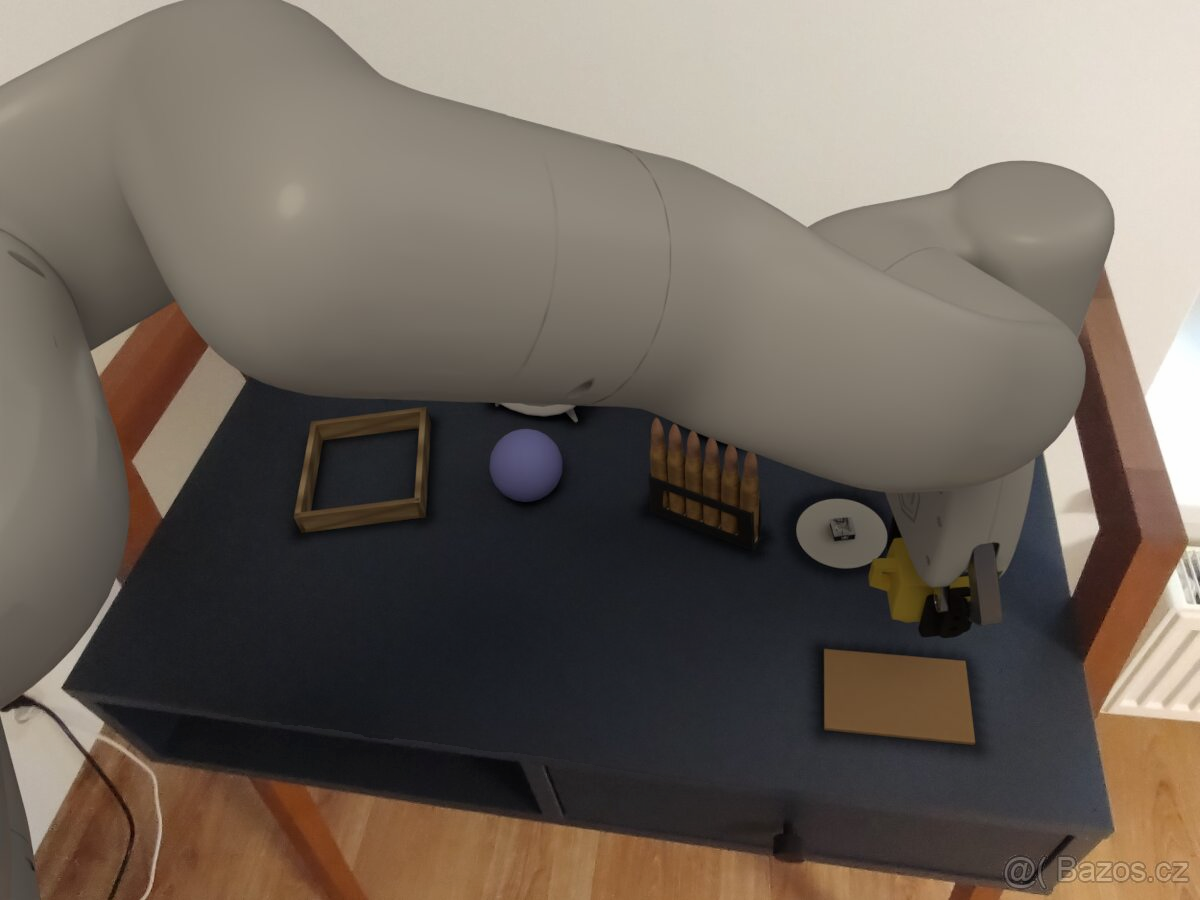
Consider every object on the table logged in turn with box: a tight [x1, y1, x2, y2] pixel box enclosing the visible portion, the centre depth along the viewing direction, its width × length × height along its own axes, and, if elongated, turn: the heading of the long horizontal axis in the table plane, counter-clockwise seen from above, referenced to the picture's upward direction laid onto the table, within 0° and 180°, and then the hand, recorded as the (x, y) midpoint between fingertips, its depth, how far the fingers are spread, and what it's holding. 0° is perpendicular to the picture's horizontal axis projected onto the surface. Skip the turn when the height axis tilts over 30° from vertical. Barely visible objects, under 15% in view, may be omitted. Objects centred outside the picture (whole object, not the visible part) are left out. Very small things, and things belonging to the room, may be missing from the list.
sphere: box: [489, 428, 563, 503], centre depth 89 cm, size 7×7×7 cm
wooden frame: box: [293, 406, 432, 534], centre depth 94 cm, size 13×12×2 cm
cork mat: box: [823, 648, 976, 746], centre depth 73 cm, size 7×11×1 cm, turn 81°
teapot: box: [868, 538, 970, 624], centre depth 62 cm, size 8×6×5 cm
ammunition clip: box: [648, 417, 763, 552], centre depth 83 cm, size 11×2×12 cm, turn 60°
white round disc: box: [795, 498, 888, 569], centre depth 84 cm, size 8×8×1 cm
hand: (926, 587), depth 63 cm, fingers closed on teapot, 6 cm apart
